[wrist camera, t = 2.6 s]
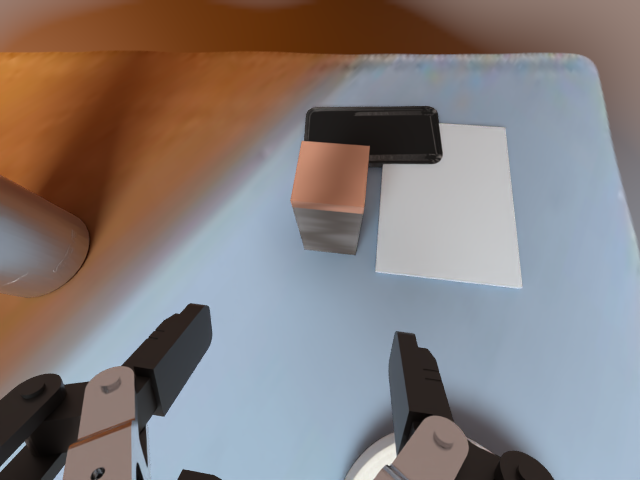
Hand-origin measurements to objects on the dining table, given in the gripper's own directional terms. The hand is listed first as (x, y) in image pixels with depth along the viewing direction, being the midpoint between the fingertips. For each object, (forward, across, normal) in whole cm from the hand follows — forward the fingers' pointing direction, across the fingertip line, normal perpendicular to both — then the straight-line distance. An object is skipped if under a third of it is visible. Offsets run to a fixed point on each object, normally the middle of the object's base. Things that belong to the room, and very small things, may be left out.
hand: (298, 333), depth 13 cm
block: (+18, 0, +2) cm, 18 cm away
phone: (+27, -3, -6) cm, 28 cm away
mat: (+22, -11, -1) cm, 24 cm away
